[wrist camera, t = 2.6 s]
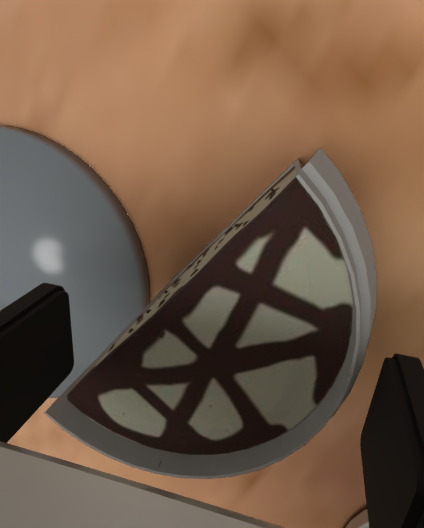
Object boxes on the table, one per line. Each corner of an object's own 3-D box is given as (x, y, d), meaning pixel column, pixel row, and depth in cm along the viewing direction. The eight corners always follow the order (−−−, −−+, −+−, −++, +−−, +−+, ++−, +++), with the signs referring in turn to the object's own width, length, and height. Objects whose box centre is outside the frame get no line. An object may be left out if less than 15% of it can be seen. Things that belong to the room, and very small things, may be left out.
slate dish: (153, 142, 19) (143, 144, 18) (146, 413, 26) (138, 426, 25) (-117, 111, 23) (-139, 111, 22) (-64, 354, 29) (-79, 363, 28)
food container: (229, 372, 23) (164, 540, 14) (154, 296, 22) (36, 420, 13) (419, 234, 17) (514, 364, 8) (324, 132, 17) (318, 155, 8)
